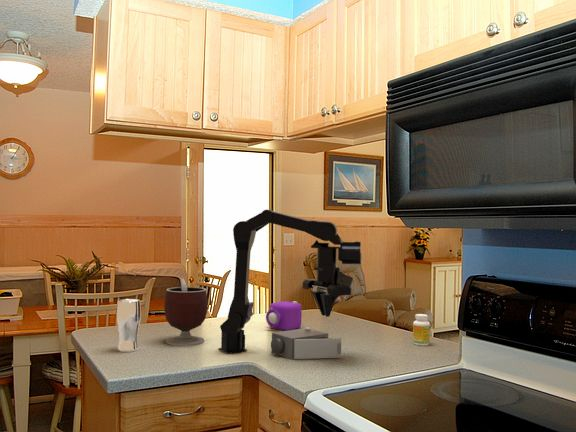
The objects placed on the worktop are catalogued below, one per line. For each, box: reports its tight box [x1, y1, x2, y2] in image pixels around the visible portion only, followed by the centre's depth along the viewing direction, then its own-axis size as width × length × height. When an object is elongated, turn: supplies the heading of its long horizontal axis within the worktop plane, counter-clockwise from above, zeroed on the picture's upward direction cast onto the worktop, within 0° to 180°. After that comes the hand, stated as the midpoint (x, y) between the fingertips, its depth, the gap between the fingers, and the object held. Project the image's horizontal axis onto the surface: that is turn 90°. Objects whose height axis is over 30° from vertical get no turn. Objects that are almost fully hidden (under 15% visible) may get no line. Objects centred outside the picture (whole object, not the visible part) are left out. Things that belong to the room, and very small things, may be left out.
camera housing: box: [270, 326, 329, 360], centre depth 170 cm, size 16×10×7 cm, turn 127°
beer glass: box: [116, 298, 142, 353], centre depth 170 cm, size 7×7×15 cm
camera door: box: [293, 337, 342, 360], centre depth 163 cm, size 14×2×5 cm, turn 102°
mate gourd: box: [163, 277, 209, 347], centre depth 184 cm, size 16×14×20 cm
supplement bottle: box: [412, 313, 431, 347], centre depth 186 cm, size 5×5×10 cm
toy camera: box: [265, 300, 303, 331], centre depth 208 cm, size 11×14×10 cm
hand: (325, 316), depth 167 cm, fingers closed
